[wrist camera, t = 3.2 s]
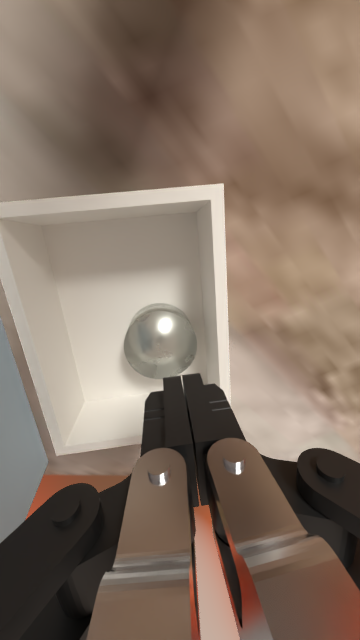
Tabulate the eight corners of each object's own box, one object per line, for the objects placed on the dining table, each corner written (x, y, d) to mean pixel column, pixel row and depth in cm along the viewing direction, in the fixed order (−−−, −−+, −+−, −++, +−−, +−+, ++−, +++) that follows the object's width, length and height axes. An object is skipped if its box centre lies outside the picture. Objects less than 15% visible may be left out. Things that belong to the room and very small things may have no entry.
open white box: (204, 201, 20) (223, 183, 14) (215, 389, 25) (231, 430, 20) (30, 216, 19) (-24, 204, 13) (79, 407, 25) (56, 455, 19)
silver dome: (171, 290, 22) (173, 297, 19) (203, 343, 23) (209, 356, 20) (114, 324, 22) (108, 336, 19) (150, 373, 24) (149, 391, 21)
